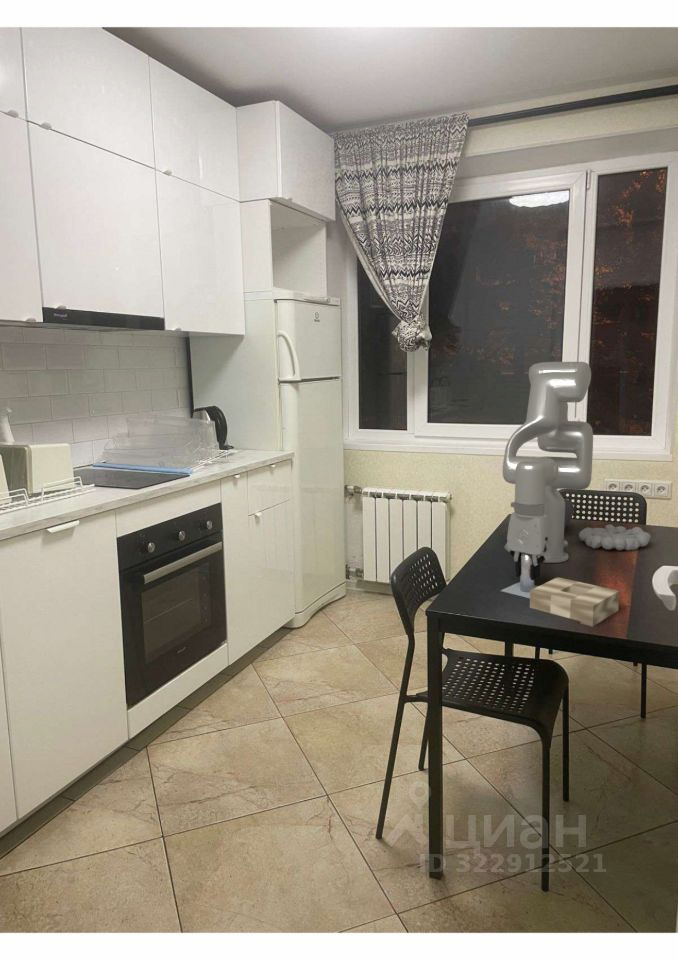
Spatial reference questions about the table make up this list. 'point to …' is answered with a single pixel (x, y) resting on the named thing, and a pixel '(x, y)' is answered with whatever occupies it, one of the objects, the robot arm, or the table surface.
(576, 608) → the hole block
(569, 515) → the bluetooth speaker
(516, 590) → the mat
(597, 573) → the table surface
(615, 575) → the table surface
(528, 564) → the peg
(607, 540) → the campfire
